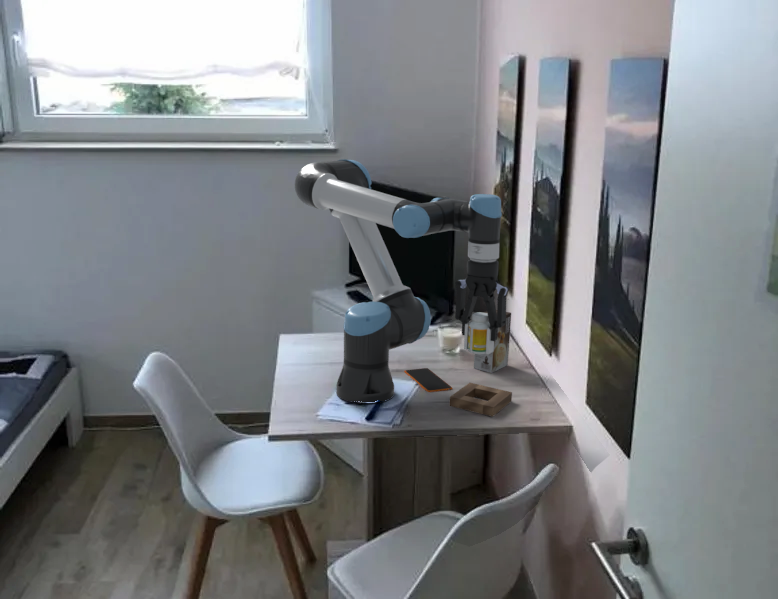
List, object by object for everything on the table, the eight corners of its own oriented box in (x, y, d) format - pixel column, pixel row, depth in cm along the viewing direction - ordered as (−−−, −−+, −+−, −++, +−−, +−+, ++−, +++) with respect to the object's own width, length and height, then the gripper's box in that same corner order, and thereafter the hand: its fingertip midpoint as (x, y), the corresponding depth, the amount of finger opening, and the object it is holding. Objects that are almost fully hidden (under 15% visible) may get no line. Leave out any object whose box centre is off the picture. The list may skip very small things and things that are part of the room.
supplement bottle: (463, 350, 211) (464, 313, 208) (479, 346, 214) (480, 310, 212) (477, 356, 207) (479, 318, 204) (493, 352, 210) (495, 315, 207)
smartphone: (427, 370, 240) (427, 367, 240) (453, 391, 226) (453, 388, 225) (403, 372, 238) (403, 369, 237) (427, 394, 223) (427, 391, 223)
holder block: (449, 405, 215) (449, 396, 214) (469, 391, 225) (469, 382, 224) (492, 416, 209) (493, 407, 208) (511, 401, 219) (512, 392, 218)
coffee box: (489, 360, 249) (492, 308, 245) (508, 365, 245) (512, 312, 241) (472, 368, 242) (476, 314, 238) (492, 373, 238) (496, 319, 234)
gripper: (442, 256, 206) (439, 347, 212) (511, 266, 196) (505, 361, 202) (457, 251, 212) (453, 340, 218) (524, 261, 203) (519, 353, 209)
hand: (478, 350), depth 210 cm, fingers closed on supplement bottle, 5 cm apart
